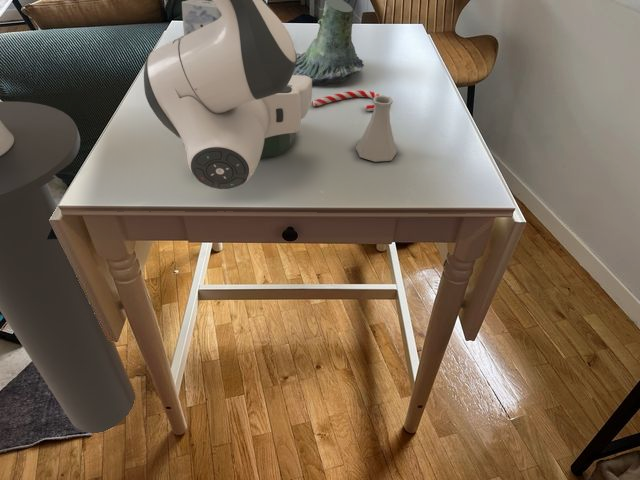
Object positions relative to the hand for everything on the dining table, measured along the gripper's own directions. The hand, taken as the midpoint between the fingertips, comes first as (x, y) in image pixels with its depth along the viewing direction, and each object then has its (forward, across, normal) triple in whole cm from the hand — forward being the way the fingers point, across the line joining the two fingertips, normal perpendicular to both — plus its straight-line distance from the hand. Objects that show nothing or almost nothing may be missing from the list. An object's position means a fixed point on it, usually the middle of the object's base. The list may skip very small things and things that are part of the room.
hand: (253, 70), depth 81 cm
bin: (-1, 0, -12) cm, 12 cm away
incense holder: (+42, -17, -12) cm, 47 cm away
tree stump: (+30, +10, -12) cm, 34 cm away
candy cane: (+14, +17, -12) cm, 25 cm away
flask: (-3, +22, -12) cm, 25 cm away
